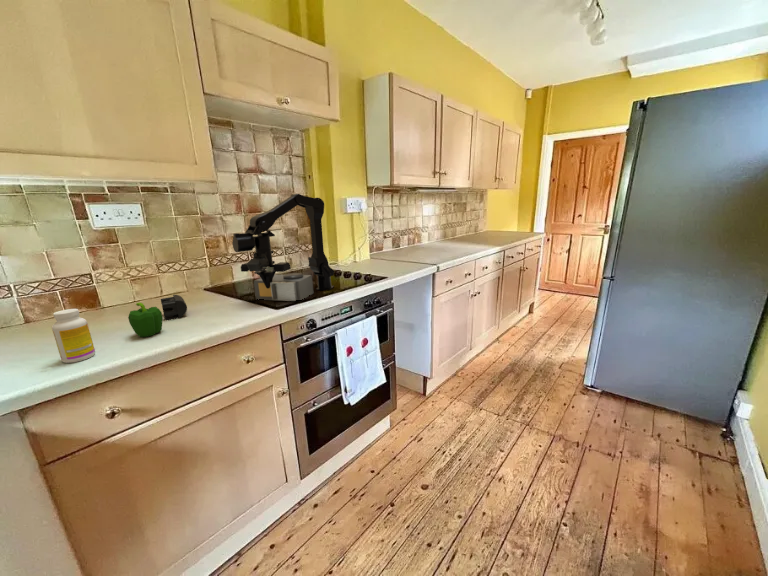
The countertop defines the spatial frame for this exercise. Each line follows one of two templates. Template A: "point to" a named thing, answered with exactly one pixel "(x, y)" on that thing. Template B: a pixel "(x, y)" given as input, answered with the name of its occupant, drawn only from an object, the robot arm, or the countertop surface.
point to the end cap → (173, 307)
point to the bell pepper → (146, 320)
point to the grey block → (302, 281)
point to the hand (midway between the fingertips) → (268, 288)
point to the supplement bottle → (72, 336)
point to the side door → (284, 291)
